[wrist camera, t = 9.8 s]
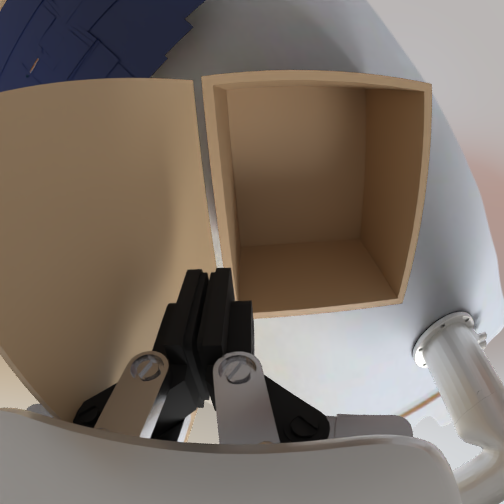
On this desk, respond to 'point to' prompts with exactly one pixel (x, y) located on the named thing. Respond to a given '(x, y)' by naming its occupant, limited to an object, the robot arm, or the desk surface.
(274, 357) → the desk surface
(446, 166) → the desk surface
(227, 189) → the carton
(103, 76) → the folded navy cloth
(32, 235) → the flap
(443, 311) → the desk surface
